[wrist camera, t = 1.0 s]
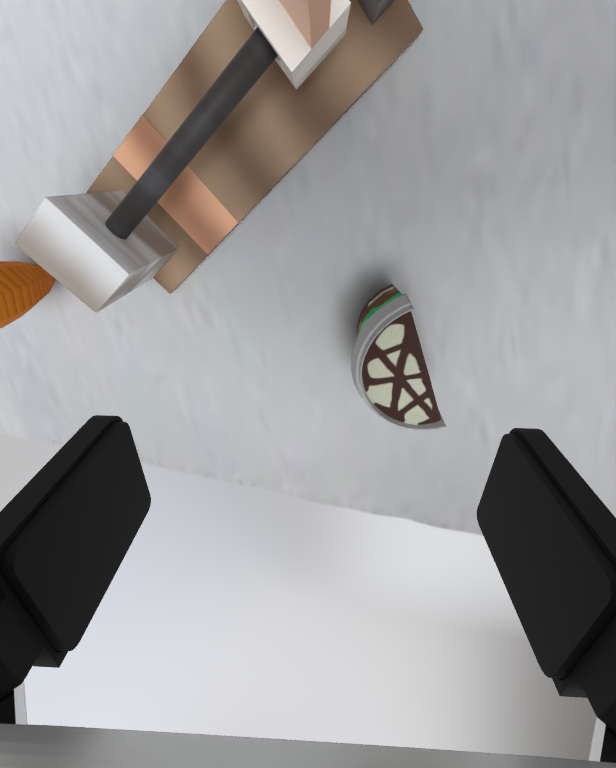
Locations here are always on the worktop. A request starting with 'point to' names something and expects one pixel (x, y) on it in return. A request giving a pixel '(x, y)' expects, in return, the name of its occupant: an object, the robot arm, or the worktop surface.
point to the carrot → (21, 289)
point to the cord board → (207, 153)
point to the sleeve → (298, 31)
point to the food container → (393, 364)
